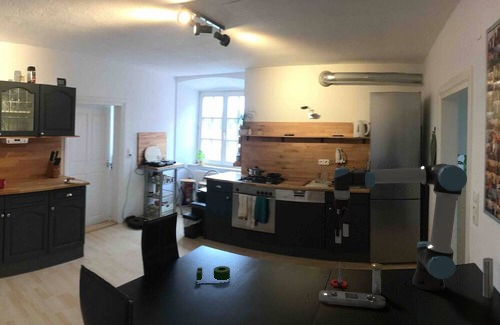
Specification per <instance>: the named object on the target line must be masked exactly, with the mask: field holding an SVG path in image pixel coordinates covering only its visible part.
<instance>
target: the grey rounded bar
mask: <svg viewBox="0 0 500 325" xmlns="http://www.w3.org/2000/svg"><path fill="white" fill-rule="evenodd" d="M318 300H319V302H321V303H322V304H326V305H339V306H348V307H359V308H371V309H384V308H385V307H386V298H385V297H384V296H383V295H381V294H379V295H376V294H373V293H362V292H352V291H351V292H350V291H340V290H327V289H325V290H324V289H323V290H321V291H319V292H318Z"/></svg>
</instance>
